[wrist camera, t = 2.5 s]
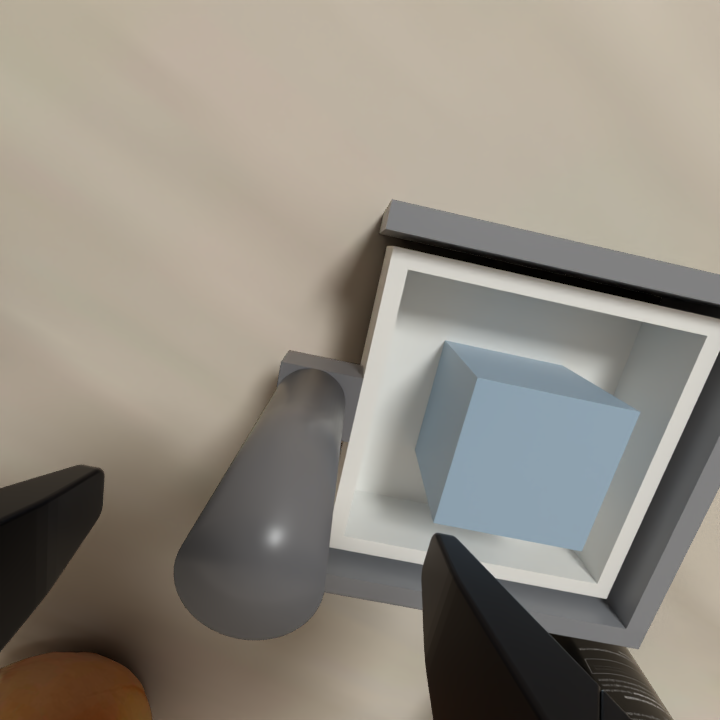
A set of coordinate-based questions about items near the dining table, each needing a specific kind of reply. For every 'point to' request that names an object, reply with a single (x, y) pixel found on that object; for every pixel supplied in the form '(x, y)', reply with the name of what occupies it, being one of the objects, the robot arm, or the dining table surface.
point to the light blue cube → (519, 446)
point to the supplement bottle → (616, 676)
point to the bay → (677, 486)
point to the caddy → (400, 434)
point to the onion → (71, 689)
